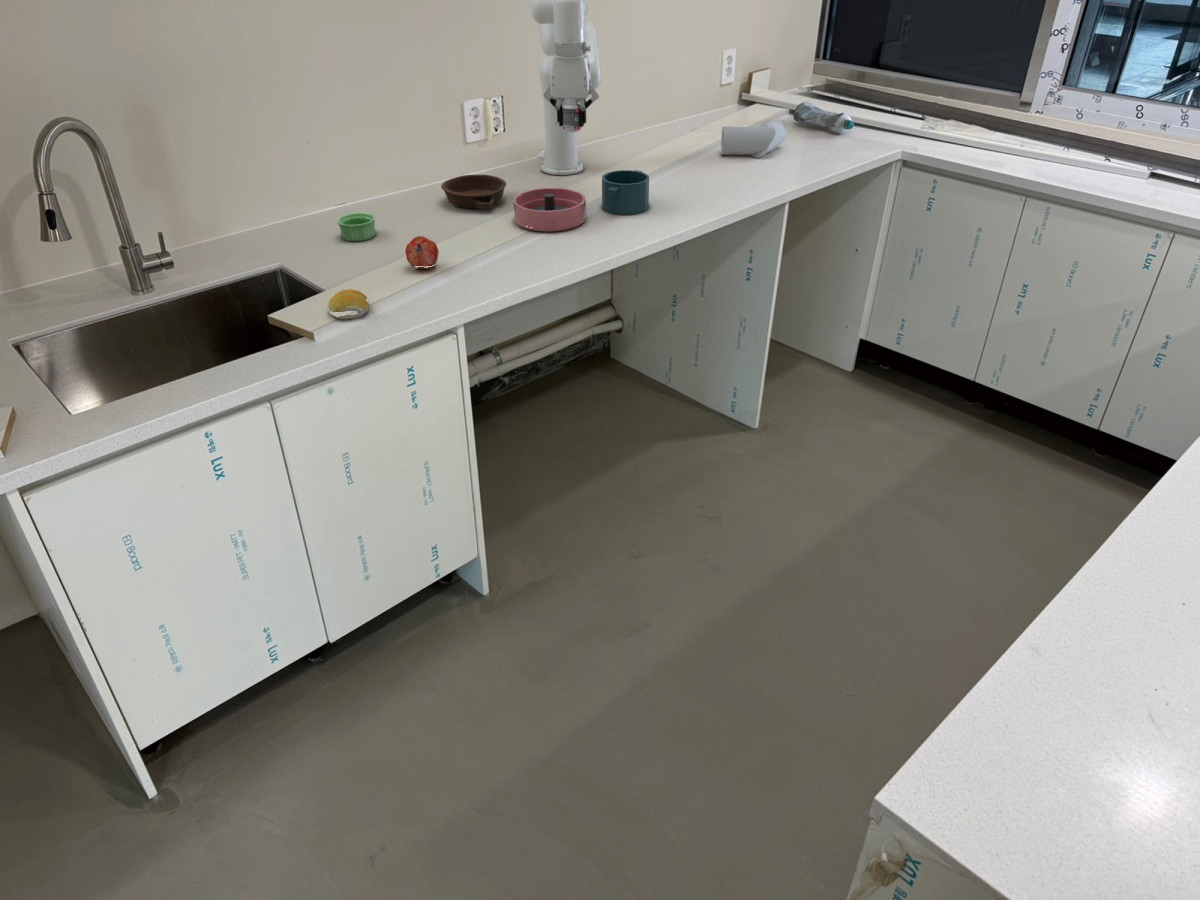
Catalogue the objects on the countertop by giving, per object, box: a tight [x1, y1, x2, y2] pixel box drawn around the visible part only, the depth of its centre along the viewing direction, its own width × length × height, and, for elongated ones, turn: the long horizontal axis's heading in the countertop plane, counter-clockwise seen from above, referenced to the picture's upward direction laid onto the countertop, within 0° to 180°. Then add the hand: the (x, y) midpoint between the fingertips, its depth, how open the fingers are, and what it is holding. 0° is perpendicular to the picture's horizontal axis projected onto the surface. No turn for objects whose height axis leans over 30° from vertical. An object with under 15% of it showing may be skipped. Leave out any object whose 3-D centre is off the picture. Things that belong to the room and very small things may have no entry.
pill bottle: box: [562, 98, 582, 133], centre depth 220 cm, size 5×5×8 cm
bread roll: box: [327, 288, 370, 320], centre depth 173 cm, size 8×9×4 cm
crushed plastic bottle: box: [792, 101, 855, 135], centre depth 289 cm, size 13×7×25 cm
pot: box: [601, 169, 650, 216], centre depth 224 cm, size 12×18×8 cm
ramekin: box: [337, 212, 376, 242], centre depth 209 cm, size 9×9×4 cm
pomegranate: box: [404, 235, 440, 270], centre depth 191 cm, size 7×7×10 cm
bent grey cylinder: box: [720, 119, 787, 159], centre depth 265 cm, size 18×10×20 cm
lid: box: [532, 194, 568, 211], centre depth 216 cm, size 13×13×6 cm
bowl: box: [513, 187, 587, 233], centre depth 216 cm, size 18×18×6 cm
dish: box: [440, 174, 507, 210], centre depth 229 cm, size 18×22×5 cm
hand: (571, 124), depth 222 cm, fingers closed on pill bottle, 4 cm apart
